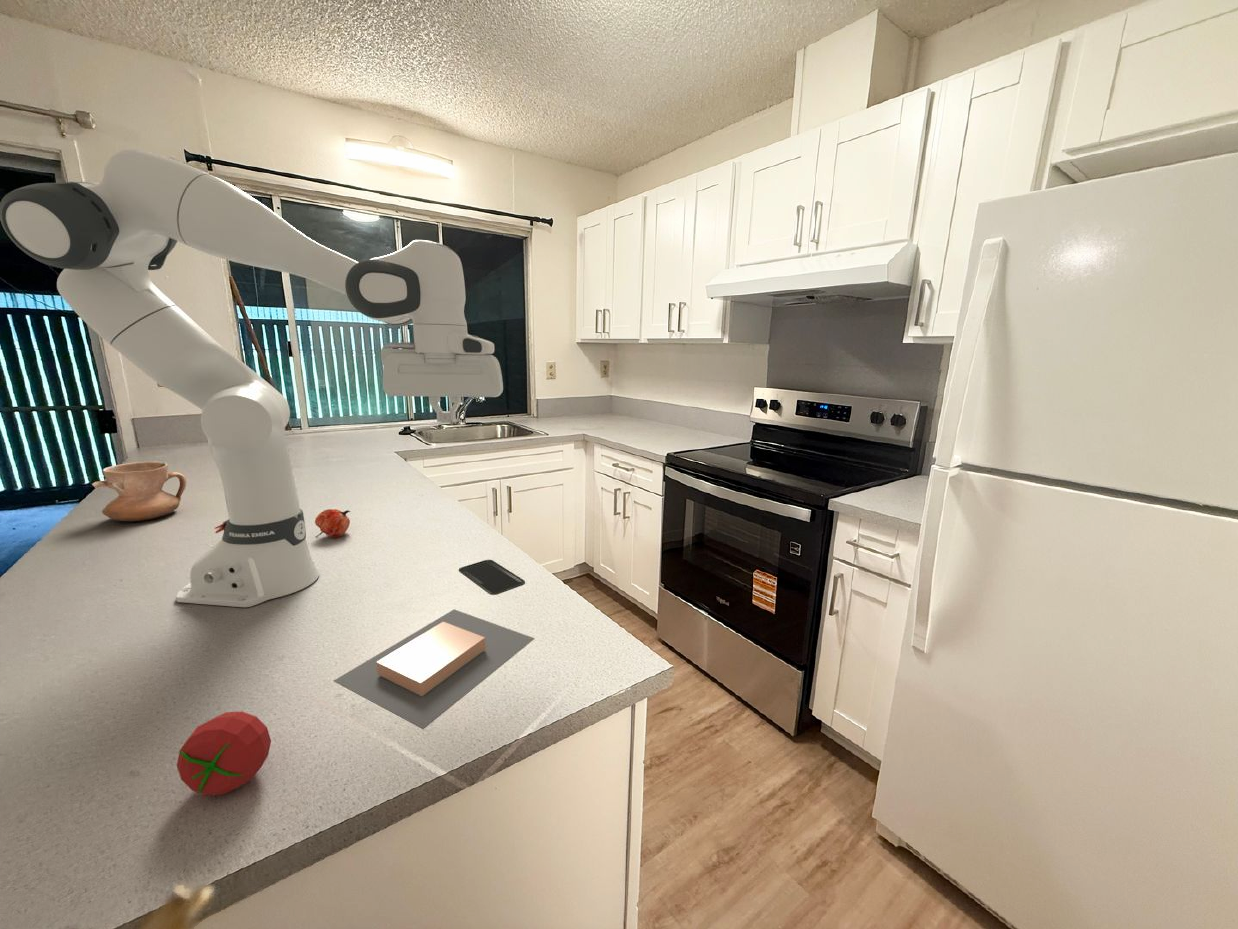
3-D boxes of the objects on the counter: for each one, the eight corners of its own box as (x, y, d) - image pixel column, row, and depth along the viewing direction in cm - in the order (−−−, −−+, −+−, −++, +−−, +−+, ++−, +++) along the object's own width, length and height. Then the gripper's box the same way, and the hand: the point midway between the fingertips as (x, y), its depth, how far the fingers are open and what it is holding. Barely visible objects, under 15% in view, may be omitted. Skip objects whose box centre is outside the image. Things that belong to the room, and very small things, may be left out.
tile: (443, 621, 78) (376, 662, 68) (485, 637, 74) (420, 683, 64) (444, 634, 79) (377, 676, 69) (485, 650, 75) (422, 698, 65)
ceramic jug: (105, 531, 120) (93, 476, 117) (96, 518, 129) (85, 466, 126) (198, 515, 134) (190, 465, 131) (184, 503, 143) (176, 456, 140)
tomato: (239, 685, 55) (187, 724, 47) (298, 723, 56) (256, 768, 48) (193, 742, 54) (134, 791, 47) (254, 779, 55) (205, 833, 48)
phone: (490, 558, 107) (527, 582, 97) (490, 563, 108) (527, 587, 97) (456, 569, 102) (491, 595, 91) (456, 573, 102) (491, 600, 92)
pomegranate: (318, 552, 116) (351, 526, 116) (296, 529, 115) (330, 503, 115) (332, 543, 124) (364, 519, 124) (312, 521, 122) (344, 497, 122)
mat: (454, 612, 87) (454, 609, 87) (534, 641, 78) (534, 638, 78) (334, 684, 68) (333, 680, 68) (423, 732, 60) (423, 728, 59)
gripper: (372, 341, 80) (380, 424, 83) (497, 343, 82) (500, 424, 85) (386, 342, 86) (393, 418, 90) (502, 344, 88) (505, 419, 91)
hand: (446, 421), depth 87 cm, fingers closed
